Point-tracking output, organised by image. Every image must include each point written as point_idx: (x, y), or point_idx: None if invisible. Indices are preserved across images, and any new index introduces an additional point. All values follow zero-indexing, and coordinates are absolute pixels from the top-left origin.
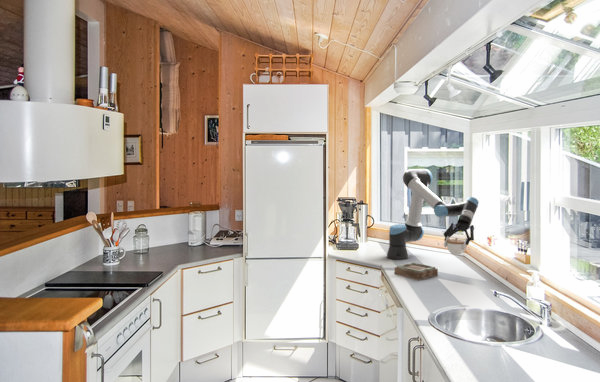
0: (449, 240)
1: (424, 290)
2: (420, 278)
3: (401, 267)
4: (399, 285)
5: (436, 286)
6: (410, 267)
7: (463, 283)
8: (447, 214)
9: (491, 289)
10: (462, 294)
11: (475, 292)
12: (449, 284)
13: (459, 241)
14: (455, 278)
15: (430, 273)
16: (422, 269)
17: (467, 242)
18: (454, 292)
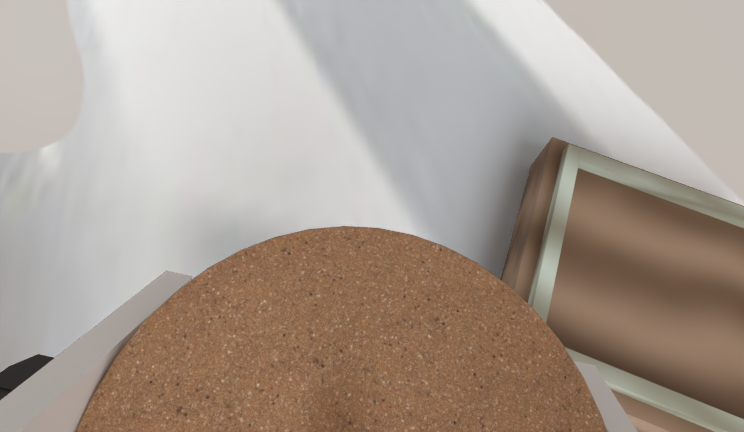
0: (518, 368)
1: (417, 8)
2: (530, 177)
3: (733, 206)
4: (557, 34)
5: (386, 87)
6: (705, 284)
7: (240, 219)
8: None
9: (47, 159)
10: (228, 14)
11: (158, 66)
12: (326, 155)
13: (239, 348)
14: None
15: (511, 268)
16: (569, 201)
17: (9, 380)
18: (271, 28)
